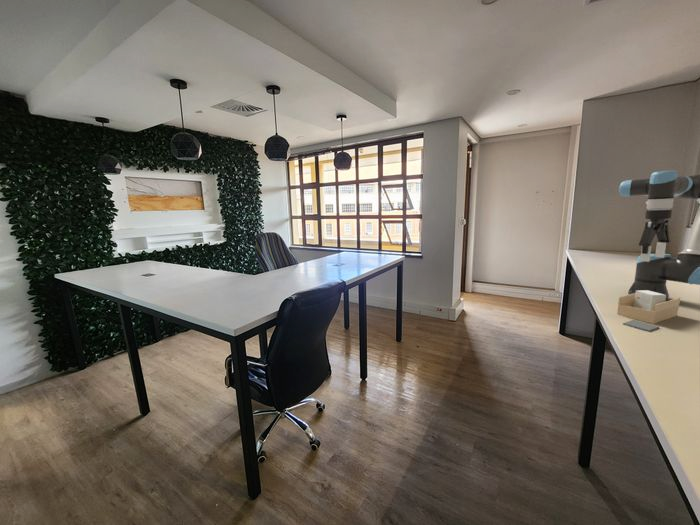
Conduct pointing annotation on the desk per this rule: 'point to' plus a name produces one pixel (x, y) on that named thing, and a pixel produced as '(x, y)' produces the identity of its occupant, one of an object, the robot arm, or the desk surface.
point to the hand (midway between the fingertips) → (652, 259)
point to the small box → (648, 299)
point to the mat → (641, 325)
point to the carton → (660, 314)
